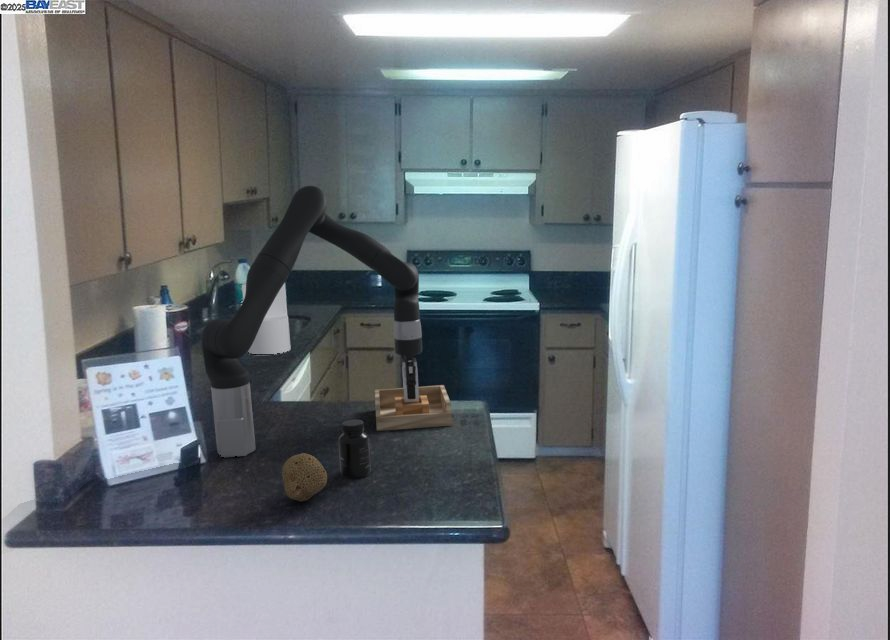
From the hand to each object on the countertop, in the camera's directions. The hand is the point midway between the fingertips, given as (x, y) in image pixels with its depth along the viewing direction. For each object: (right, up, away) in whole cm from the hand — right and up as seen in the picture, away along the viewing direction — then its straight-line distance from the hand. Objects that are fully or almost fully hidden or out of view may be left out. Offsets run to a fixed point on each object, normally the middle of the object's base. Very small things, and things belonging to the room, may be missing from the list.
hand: (411, 396), depth 209 cm
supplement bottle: (-11, -14, -40) cm, 43 cm away
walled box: (0, -6, +1) cm, 6 cm away
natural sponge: (-19, -16, -53) cm, 59 cm away
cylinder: (-63, +8, +102) cm, 120 cm away
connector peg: (0, -4, +1) cm, 4 cm away
